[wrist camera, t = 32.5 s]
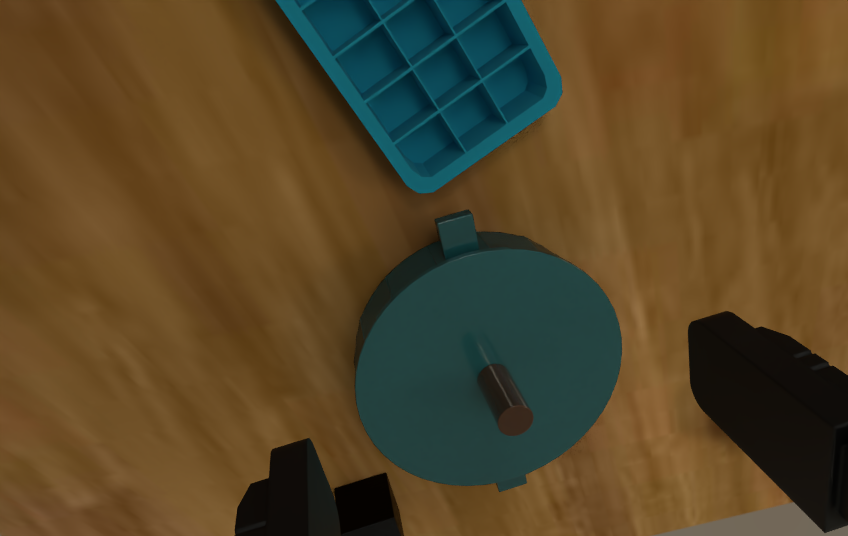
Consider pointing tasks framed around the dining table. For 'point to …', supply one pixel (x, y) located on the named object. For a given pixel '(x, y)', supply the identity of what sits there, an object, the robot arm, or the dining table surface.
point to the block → (368, 508)
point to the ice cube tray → (432, 76)
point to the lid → (488, 366)
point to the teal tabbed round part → (453, 241)
